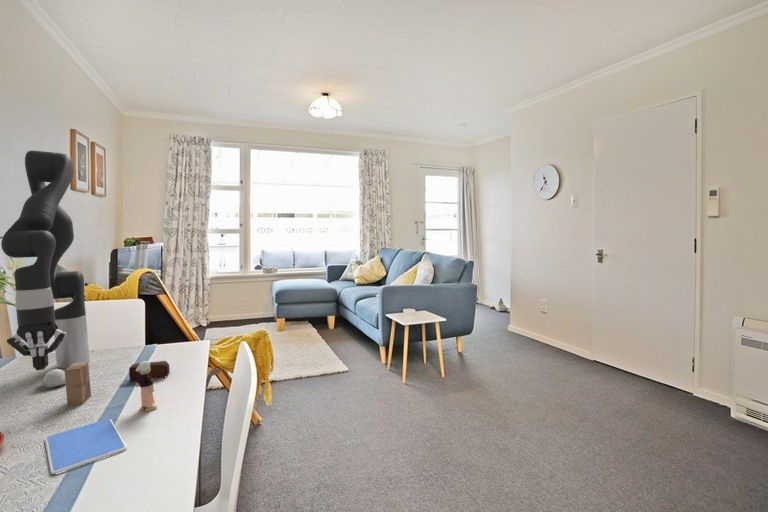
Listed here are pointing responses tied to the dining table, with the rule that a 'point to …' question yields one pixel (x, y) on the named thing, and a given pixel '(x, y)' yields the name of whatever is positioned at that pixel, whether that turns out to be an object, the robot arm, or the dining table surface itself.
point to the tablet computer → (83, 445)
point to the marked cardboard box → (77, 383)
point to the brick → (156, 370)
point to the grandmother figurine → (145, 386)
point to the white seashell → (54, 378)
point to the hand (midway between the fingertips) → (41, 369)
